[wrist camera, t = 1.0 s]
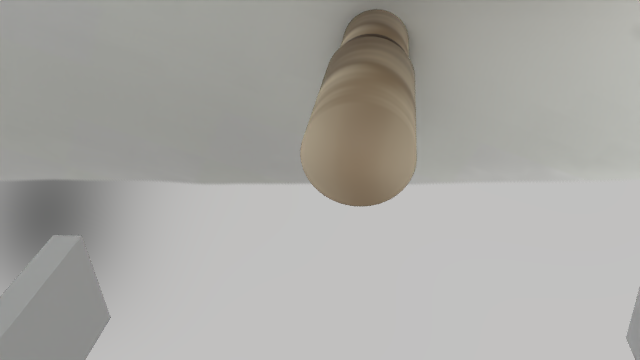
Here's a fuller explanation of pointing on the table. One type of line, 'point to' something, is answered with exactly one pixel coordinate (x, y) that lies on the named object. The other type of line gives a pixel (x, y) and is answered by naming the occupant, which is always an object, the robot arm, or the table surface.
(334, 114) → the beech leg
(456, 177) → the table surface
